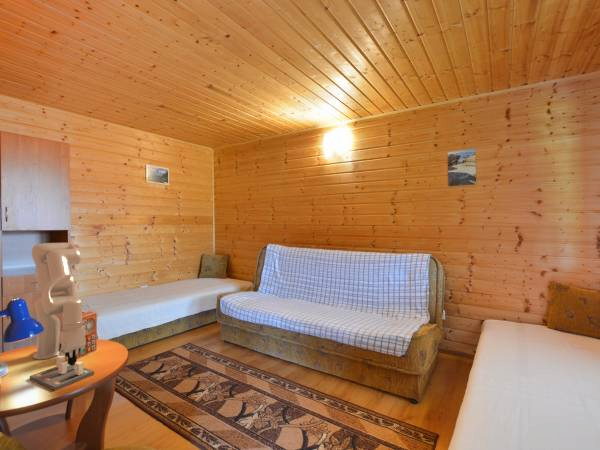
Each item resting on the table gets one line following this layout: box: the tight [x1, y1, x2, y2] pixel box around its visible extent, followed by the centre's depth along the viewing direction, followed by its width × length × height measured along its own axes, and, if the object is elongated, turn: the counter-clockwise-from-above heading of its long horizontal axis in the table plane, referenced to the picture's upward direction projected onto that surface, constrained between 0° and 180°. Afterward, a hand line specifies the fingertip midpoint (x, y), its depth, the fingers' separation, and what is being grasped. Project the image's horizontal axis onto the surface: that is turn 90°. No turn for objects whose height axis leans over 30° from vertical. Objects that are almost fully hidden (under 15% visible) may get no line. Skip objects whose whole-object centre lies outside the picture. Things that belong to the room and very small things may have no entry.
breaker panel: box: [29, 361, 95, 391], centre depth 144 cm, size 21×16×2 cm
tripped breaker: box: [58, 360, 68, 374], centre depth 144 cm, size 3×2×5 cm, turn 64°
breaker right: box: [75, 360, 84, 375], centre depth 143 cm, size 3×2×5 cm, turn 64°
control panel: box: [77, 310, 98, 360], centre depth 169 cm, size 21×7×15 cm
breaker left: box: [56, 355, 66, 367], centre depth 150 cm, size 3×2×5 cm, turn 64°
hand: (72, 364), depth 147 cm, fingers closed
